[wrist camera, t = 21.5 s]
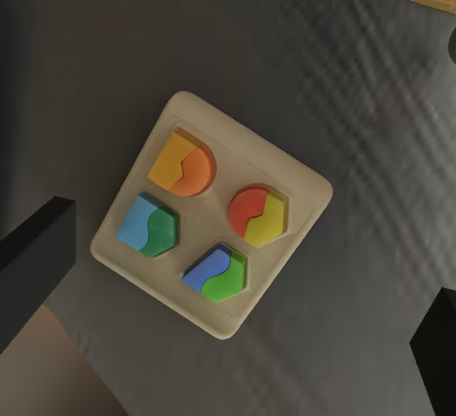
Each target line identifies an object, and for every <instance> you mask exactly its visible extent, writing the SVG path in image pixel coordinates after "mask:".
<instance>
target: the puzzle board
mask: <svg viewBox="0 0 456 416" xmlns="http://www.w3.org/2000/svg"><path fill="white" fill-rule="evenodd" d="M332 194H333V189H332V186H331V184H330V183H329V182H328V181H327V180H326V179H325V178H324V177H323V176H321V175H320V174H318V173H316V172H315V171H313V170H312V169H310V168H309V167H307V166H306V165H304V164H302V163H301V162H299V161H298V160H296V159H295V158H293V157H292V156H290V155H288V154H287V153H285V152H284V151H282V150H281V149H279V148H278V147H276V146H274V145H273V144H271V143H270V142H268V141H267V140H265V139H264V138H262V137H260V136H259V135H257V134H256V133H254V132H253V131H251V130H250V129H248V128H246V127H245V126H243V125H242V124H240V123H239V122H237V121H235V120H234V119H232V118H231V117H229V116H228V115H226V114H224V113H223V112H221V111H220V110H218V109H217V108H215V107H214V106H212V105H210V104H209V103H207V102H206V101H204V100H203V99H201V98H199V97H198V96H196V95H194V94H193V93H190V92H187V91H180V92H177V93H176V94H174V95H173V96H172V97H171V98H170V100H169V101H168V103H167V104H166V106H165V108H164V110H163V111H162V113H161V115H160V117H159V119H158V121H157V123H156V124H155V126H154V128H153V130H152V132H151V134H150V135H149V137H148V139H147V141H146V143H145V145H144V146H143V148H142V150H141V152H140V154H139V156H138V157H137V159H136V161H135V163H134V165H133V167H132V168H131V170H130V172H129V174H128V176H127V178H126V180H125V181H124V183H123V185H122V187H121V189H120V191H119V193H118V194H117V196H116V198H115V200H114V202H113V204H112V206H111V207H110V209H109V211H108V213H107V215H106V217H105V218H104V220H103V222H102V224H101V226H100V228H99V230H98V231H97V233H96V234H95V236H94V238H93V240H92V242H91V245H90V251H91V254H92V255H93V256H94V257H95V258H96V259H97V260H99V261H100V262H102V263H103V264H105V265H106V266H108V267H109V268H111V269H112V270H114V271H115V272H117V273H118V274H120V275H121V276H123V277H124V278H126V279H128V280H129V281H131V282H132V283H134V284H135V285H137V286H138V287H140V288H141V289H143V290H144V291H146V292H147V293H149V294H150V295H152V296H153V297H155V298H156V299H158V300H160V301H161V302H163V303H164V304H166V305H167V306H169V307H170V308H172V309H173V310H175V311H176V312H178V313H179V314H181V315H182V316H184V317H185V318H187V319H189V320H190V321H192V322H193V323H195V324H196V325H198V326H199V327H201V328H202V329H204V330H205V331H207V332H208V333H210V334H211V335H213V336H214V337H216V338H218V339H227V338H230V337H231V336H232V335H234V333H235V332H236V331H237V330H238V328H239V327H240V325H241V324H242V323H243V321H244V320H245V318H246V317H247V316H248V314H249V313H250V312H251V310H252V309H253V307H254V306H255V305H256V303H257V302H258V301H259V299H260V298H261V296H262V295H263V294H264V292H265V291H266V289H267V288H268V287H269V285H270V284H271V283H272V281H273V280H274V278H275V277H276V276H277V274H278V273H279V272H280V270H281V269H282V267H283V266H284V265H285V263H286V262H287V261H288V259H289V258H290V256H291V255H292V254H293V252H294V251H295V249H296V248H297V247H298V245H299V244H300V243H301V241H302V240H303V238H304V237H305V236H306V234H307V233H308V231H309V230H310V229H311V227H312V226H313V225H314V223H315V222H316V220H317V219H318V218H319V216H320V215H321V214H322V212H323V211H324V209H325V208H326V207H327V205H328V203H329V202H330V200H331V197H332Z"/></svg>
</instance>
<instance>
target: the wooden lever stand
mask: <svg viewBox="0 0 456 416" xmlns="http://www.w3.org/2000/svg"><path fill="white" fill-rule="evenodd" d="M409 1H412V2H416V3H419V4H422V5H426V6H429V7H433V8H436V9H440V10H443V11H446V12H450V13H453V14H456V0H409Z"/></svg>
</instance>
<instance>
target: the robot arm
mask: <svg viewBox="0 0 456 416" xmlns="http://www.w3.org/2000/svg"><path fill="white" fill-rule="evenodd" d="M75 263H76V201H74V200H70V199H66V198H61V197H57V196H54V197H53V198H52V199H51V200H50V201H48V202H47V203H46V204H45V205H44V206H42V207H41V208H40V209H39V210H38V211H36V212H35V213H34V214H33V215H32V216H30V217H29V218H28V219H27V220H26V221H24V222H23V223H22V224H21V225H19V226H18V227H17V228H16V229H15V230H13V231H12V232H11V233H10V234H9V235H7V236H6V237H5V238H4V239H3V240H1V241H0V355H1V354H2V352H3V351H4V350H5V349H6V347H7V346H8V345H9V344H10V343H11V341H12V340H13V339H14V338H15V336H16V335H17V334H18V333H19V331H20V330H21V329H22V328H23V327H24V325H25V324H26V323H27V322H28V320H29V319H30V318H31V317H32V315H33V314H34V313H35V312H36V311H37V309H38V308H39V307H40V305H41V304H42V303H43V302H44V301H45V300H46V298H47V297H48V296H49V295H50V293H51V292H52V291H53V290H54V288H55V287H56V286H57V285H58V284H59V282H60V281H61V280H62V279H63V277H64V276H65V275H66V274H67V273H68V271H69V270H70V269H71V268H72V266H73V265H74V264H75ZM409 344H410V346H411V349H412V352H413V355H414V357H415V360H416V363H417V366H418V368H419V371H420V374H421V377H422V379H423V382H424V385H425V388H426V390H427V393H428V396H429V399H430V401H431V404H432V407H433V410H434V412H435V415H436V416H456V291H455V290H451V289H447V288H443V287H442V288H441V290H440V291H439V293H438V295H437V296H436V298H435V300H434V302H433V303H432V305H431V307H430V308H429V310H428V312H427V313H426V315H425V317H424V319H423V320H422V322H421V324H420V325H419V327H418V329H417V331H416V332H415V334H414V336H413V337H412V339H411V341H410V342H409Z"/></svg>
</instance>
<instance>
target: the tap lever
mask: <svg viewBox="0 0 456 416" xmlns="http://www.w3.org/2000/svg"><path fill="white" fill-rule="evenodd" d="M448 52H449V55H450V58H451V59H452V61H453V62H454V63H455V64H456V28H455V29H454V30H453V32H452V34H451V36H450V39H449V43H448Z"/></svg>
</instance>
